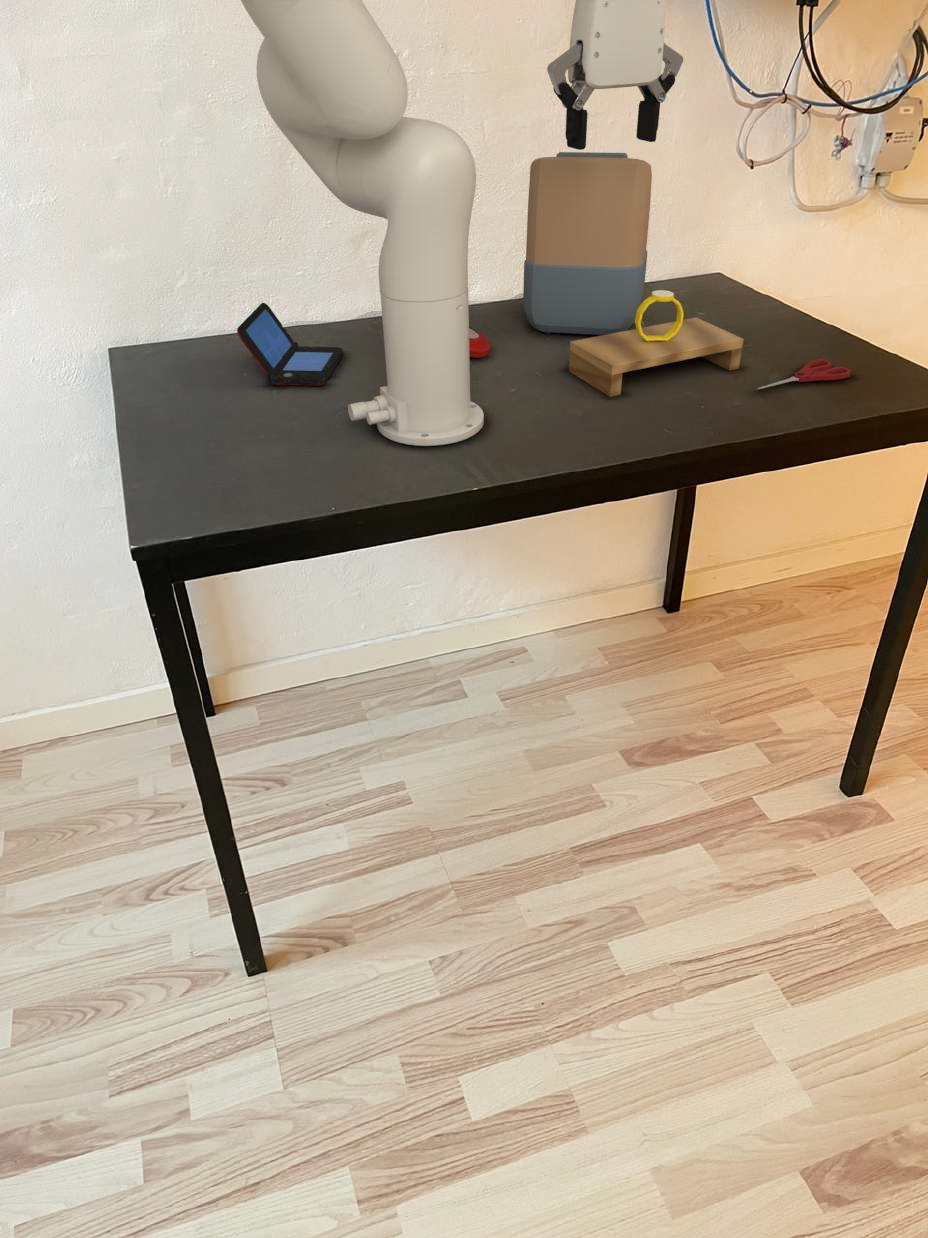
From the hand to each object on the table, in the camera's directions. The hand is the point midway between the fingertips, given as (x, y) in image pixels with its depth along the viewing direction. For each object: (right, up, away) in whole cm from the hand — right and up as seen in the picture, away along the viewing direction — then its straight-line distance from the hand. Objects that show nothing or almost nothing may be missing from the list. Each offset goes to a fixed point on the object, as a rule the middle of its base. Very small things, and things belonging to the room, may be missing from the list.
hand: (611, 143), depth 105 cm
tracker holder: (-18, -18, +21) cm, 33 cm away
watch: (+8, -20, +10) cm, 24 cm away
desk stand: (+8, -23, +13) cm, 27 cm away
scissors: (+25, -26, +8) cm, 37 cm away
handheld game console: (-40, -22, +16) cm, 49 cm away
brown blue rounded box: (+1, -12, +29) cm, 31 cm away
